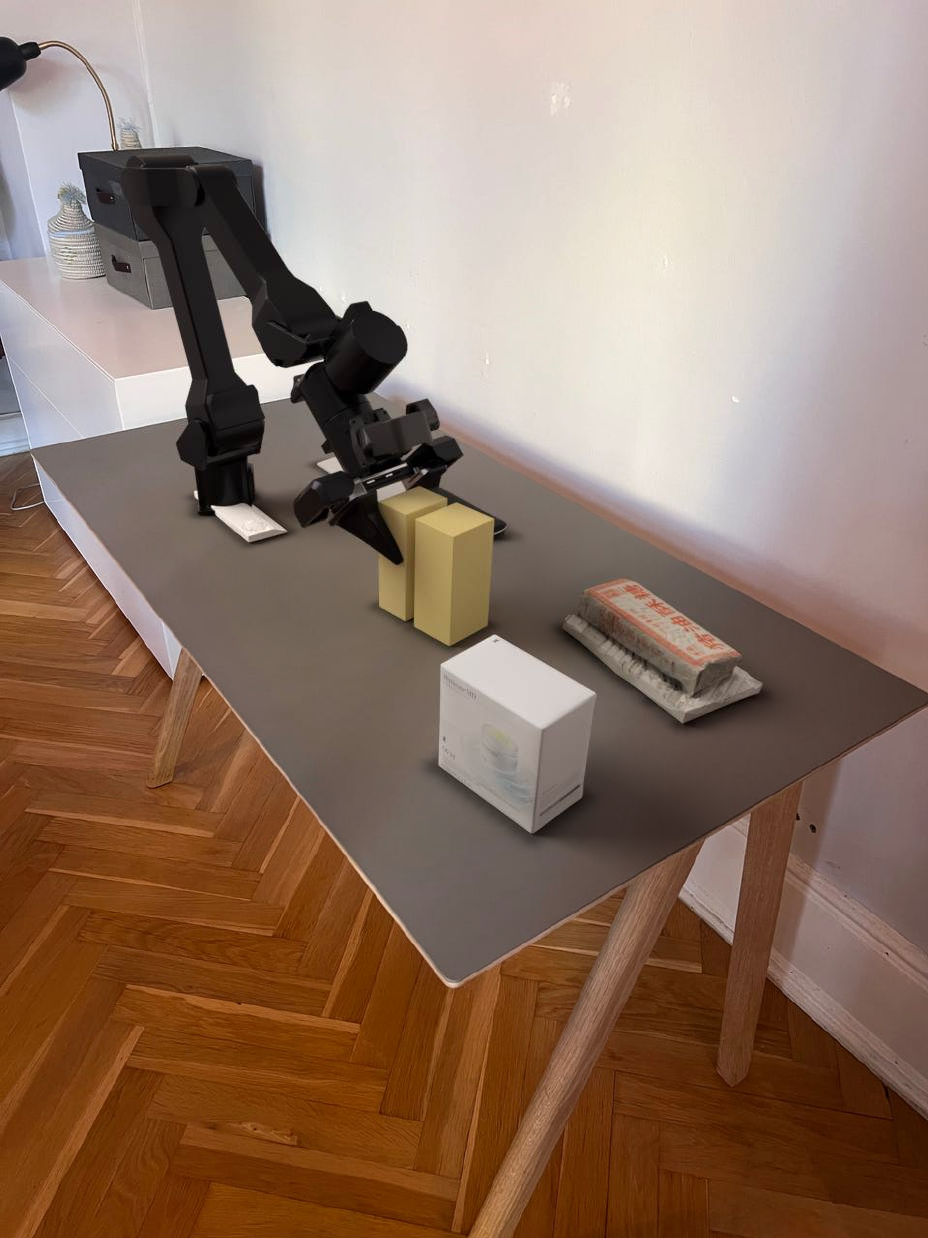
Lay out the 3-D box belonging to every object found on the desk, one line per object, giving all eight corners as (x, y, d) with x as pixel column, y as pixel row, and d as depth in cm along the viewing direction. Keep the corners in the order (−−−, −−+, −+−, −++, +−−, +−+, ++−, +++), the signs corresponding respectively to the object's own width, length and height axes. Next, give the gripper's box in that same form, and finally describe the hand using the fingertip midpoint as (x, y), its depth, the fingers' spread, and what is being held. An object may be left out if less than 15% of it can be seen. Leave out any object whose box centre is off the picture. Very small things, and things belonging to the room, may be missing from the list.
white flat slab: (231, 488, 118) (231, 480, 117) (287, 533, 108) (286, 524, 107) (194, 496, 115) (193, 488, 115) (247, 543, 105) (247, 534, 105)
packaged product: (563, 588, 90) (639, 566, 94) (558, 630, 92) (633, 606, 97) (691, 683, 77) (773, 651, 82) (682, 728, 79) (761, 695, 84)
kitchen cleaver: (315, 458, 125) (376, 436, 130) (317, 469, 126) (377, 447, 131) (451, 546, 105) (518, 517, 109) (452, 559, 106) (518, 529, 110)
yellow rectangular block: (378, 606, 95) (378, 501, 88) (417, 588, 98) (419, 485, 92) (405, 621, 92) (406, 514, 86) (443, 602, 96) (447, 498, 90)
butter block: (413, 626, 92) (415, 518, 85) (452, 607, 95) (456, 501, 89) (449, 646, 89) (453, 536, 82) (487, 625, 92) (494, 518, 86)
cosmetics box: (434, 768, 74) (437, 661, 68) (489, 734, 78) (496, 631, 72) (530, 838, 68) (542, 727, 62) (585, 797, 71) (601, 690, 66)
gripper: (305, 396, 79) (392, 552, 79) (454, 357, 91) (530, 493, 91) (258, 455, 88) (336, 596, 87) (399, 413, 100) (468, 537, 99)
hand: (421, 553), depth 91 cm, fingers closed on yellow rectangular block, 5 cm apart
